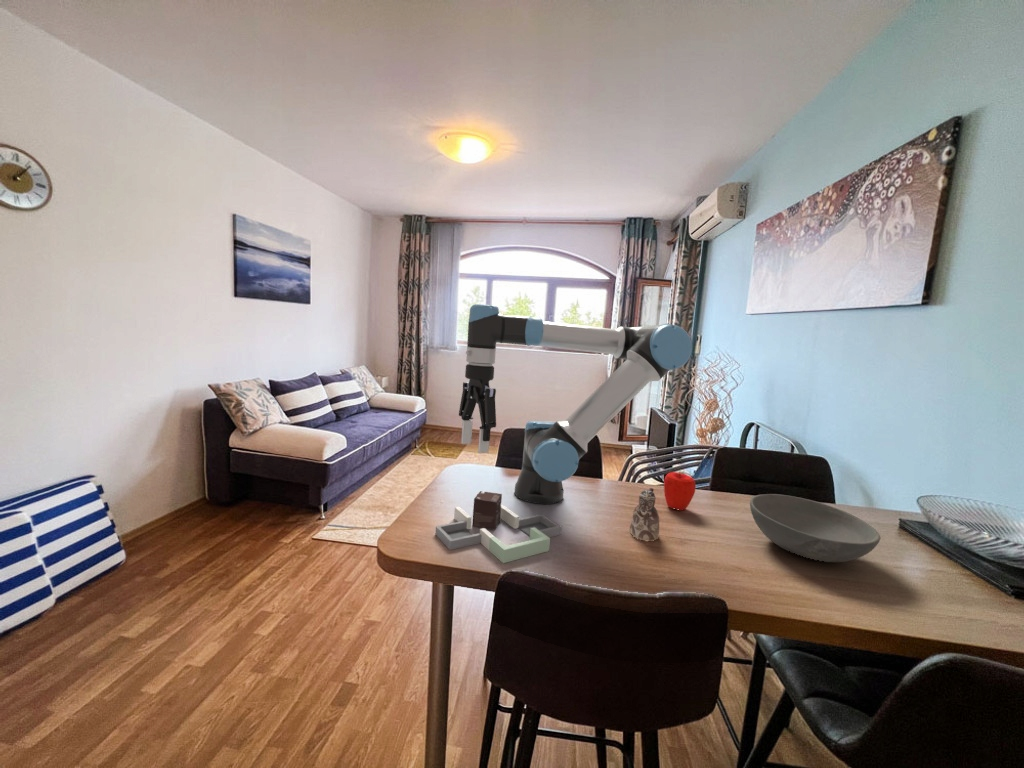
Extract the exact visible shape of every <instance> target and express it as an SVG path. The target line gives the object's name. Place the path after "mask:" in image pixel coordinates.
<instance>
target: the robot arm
mask: <svg viewBox="0 0 1024 768" xmlns="http://www.w3.org/2000/svg"><path fill="white" fill-rule="evenodd" d="M499 309H500V308H499V307H498V306H496V305H492V304H491V305H490V304H481V303H479V304H478V303H477V304H473V305H471V306H470V308H469V315H468V327H467V344H466V345H467V348H466V351H465V354H466V362H467V363H466V365H465V371H464V374H465V375H464V377H465V379H467V380H469V381H465V382H462V393H461V399H460V405H459V410H458V416H459V417H461V420H462V426H461V427H462V428H461V441H460V444H462V445H466V444H467V445H468V444H472V434H473V421H474V417H473V414H474V411H475V409H476V405H477V406H478V411H479V417H480V423H481V426H479V435H478V447H477V448H478V449H477V450H478V451H477V453H478V454H488V453H489V451H490V440H491V430H492V429H493V428H497V414H496V411H497V410H496V409H497V408H496V393H497V389H496V388H491V386H490V381H493V380H494V376H495V367H494V365H495V364H496V353H497V352H496V349H497V344H508V345H509V344H510V345H518V346H519V345H521V346H528V347H529V346H534V347H543V348H550V349H551V348H552V349H562V350H570V351H578V352H579V351H580V352H586V353H588V352H589V353H595V354H596V353H597V354H605V355H612V356H613V357H614V358H615V359H621V360H624V362H623V363H622V364H620V365H619V367H617V368H616V370H614V371H613V372H612V374H610V375H609V377H607V379H605V380H604V381H603V382H602V384H600V385H599V386H598V387H597V388H596V390H594V392H592V393H591V394H590V396H588V397H587V398H586V399H585V400H584V401H583V402H582V403H581V404H580V405H579V406H578V407H577V408H576V409H575V410H574V411H573V412H572V413H571V414H570V415H569V416H568V417H567V418H566V419H565V420H557V421H541V420H540V421H539V420H530V421H528V422H526V424H525V427H524V428H525V429H524V442H523V453H522V465H521V470H520V473H519V476H518V478H517V481H516V482H515V485H514V495H515V496H516V497H517V498H518V499H521V500H522V501H525V502H528V503H533V504H538V505H544V504H545V505H548V504H549V505H550V504H557V503H559V502H561V501H562V500H563V499H564V494H565V491H564V487H563V481H566V480H569V478H572V476H573V475H574V474H575V473H576V471H577V469H578V468H579V463H580V462H579V461H580V460H581V458H583V456H584V455H585V454H587V453H588V444H589V443H590V441H591V440H593V439H594V437H595V436H596V435H598V433H600V431H602V429H603V428H604V427H606V426H607V425H608V423H609V422H611V420H613V419H614V418H615V417H616V416H617V415H618V414H619V413H620V412H621V411H622V410H623V409H624V408H625V407H626V405H628V404H629V403H630V402H631V401H632V400H633V399H634V398H635V397H636V396H637V395H638V394H639V393H640V392H641V391H642V390H643V389H644V388H645V387H646V386H647V385H648V384H649V383H650V382H659V381H660V380H661V379H662V378H663V377H664V376H666V375H667V374H668V373H669V371H671V370H672V371H674V370H676V369H680V368H682V367H683V366H684V365H686V363H688V361H689V359H690V357H691V354H692V351H693V349H692V343H693V342H692V339H691V337H690V334H689V333H688V332H687V331H686V330H685V329H684V328H682V327H681V326H678V325H676V324H671V323H663V324H658V325H657V324H656V325H655V324H653V325H644V326H643V325H641V326H632V327H631V326H629V327H628V326H618V327H617V328H607V327H597V326H590V325H589V326H587V325H581V324H571V323H563V322H555V321H554V322H553V321H543V319H542V318H541V317H535V316H531V315H530V316H529V315H528V316H527V315H513V314H503V313H500V311H499Z"/></svg>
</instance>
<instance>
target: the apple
mask: <svg viewBox="0 0 1024 768" xmlns="http://www.w3.org/2000/svg"><path fill="white" fill-rule="evenodd" d="M663 492H664V499H665V502H666V505H667V507H668V506H669V508H670V507H671V508H675V509H679V510H682V511H684V510H686V509H687V508H688V506H689V505H690V503H691V502H692V499H693V498H694V495H695V493H696V481H695V479H694V478H693V477H691V476H690V475H687V474H686V473H680V472H675V471H674V472H673V471H669V473H666V475H665V476H664V481H663ZM671 508H670V509H671ZM683 509H684V510H683Z"/></svg>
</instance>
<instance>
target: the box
mask: <svg viewBox="0 0 1024 768" xmlns="http://www.w3.org/2000/svg"><path fill="white" fill-rule="evenodd" d="M502 496H503V494H502V493H498V492H497V493H496V492H490V491H484V490H483V491H478V493H477V494H476V495H475V497H474V498H473V510H472V521H471V527H474V528H479V529H483V528H485V529H486V530H492V531H493V530H496V528H498V526H499V524H500V522H501V518H500V515H501V504H502Z"/></svg>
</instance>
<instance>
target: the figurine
mask: <svg viewBox="0 0 1024 768" xmlns="http://www.w3.org/2000/svg"><path fill="white" fill-rule="evenodd" d="M654 490H655V489H654V488H652V487H650V488H649V489H644V490H643V491H641V493H639V495H638V505H637V506H635V508H634V510H633V513H632V518H631V522H630V525H629V534H630V533H631V534H632V535H633V536H632V535H631V534H630V535H631V536H632V538H634V537H636V538H638V539H640V540H639V541H641V540H649V541H653V540H656V539H657V540H658V539H659V535H660V516H659V511H658V509H657V508H656V507H655V504H656V499H657V498H656V495H655V493H654ZM636 538H635V539H636ZM638 539H637V540H638ZM657 540H656V541H657Z"/></svg>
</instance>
